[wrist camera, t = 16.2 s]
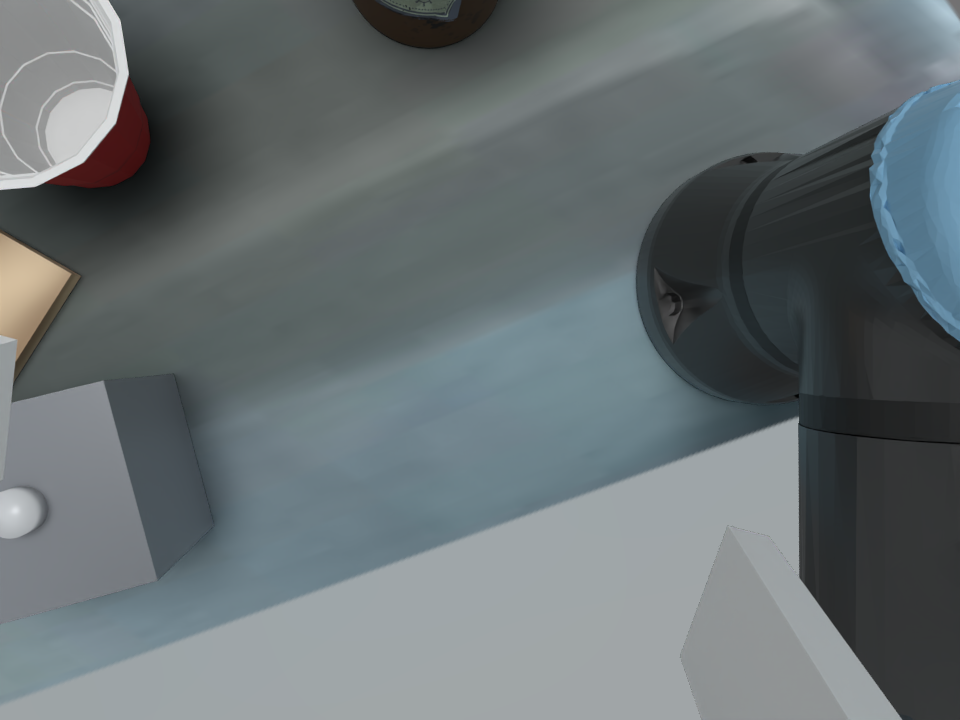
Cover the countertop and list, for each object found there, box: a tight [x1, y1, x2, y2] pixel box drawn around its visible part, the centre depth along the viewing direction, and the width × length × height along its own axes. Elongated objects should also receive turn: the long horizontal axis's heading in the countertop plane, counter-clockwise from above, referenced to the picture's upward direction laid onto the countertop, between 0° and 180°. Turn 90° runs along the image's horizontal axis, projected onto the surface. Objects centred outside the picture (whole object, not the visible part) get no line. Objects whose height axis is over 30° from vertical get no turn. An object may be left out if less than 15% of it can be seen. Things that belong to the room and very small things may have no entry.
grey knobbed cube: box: [0, 374, 214, 624], centre depth 35 cm, size 9×9×11 cm
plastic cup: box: [0, 0, 150, 190], centre depth 34 cm, size 11×11×12 cm
